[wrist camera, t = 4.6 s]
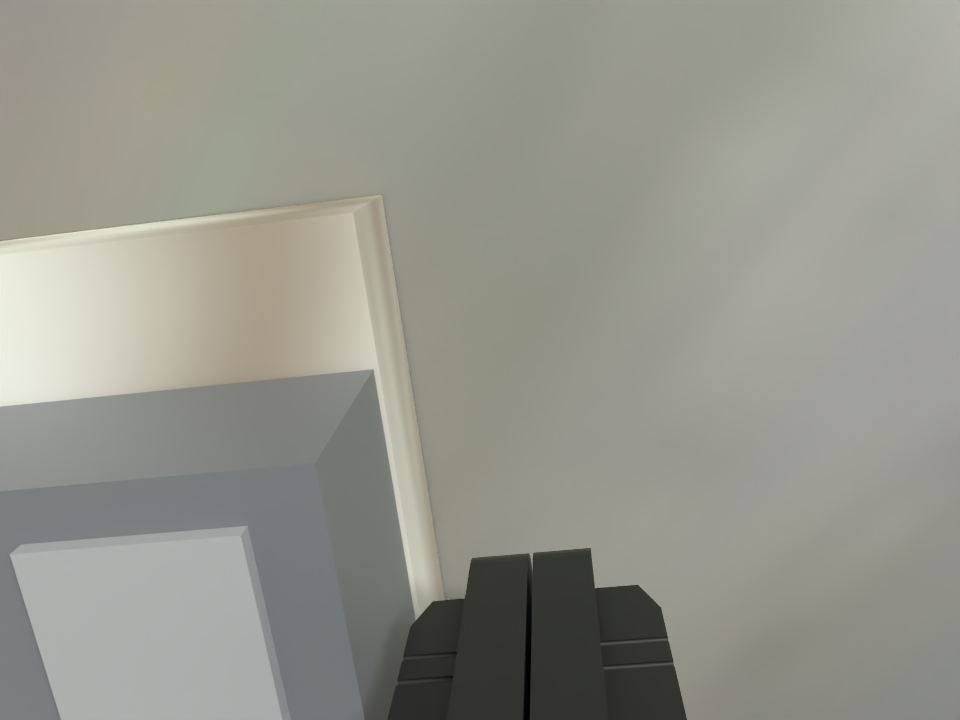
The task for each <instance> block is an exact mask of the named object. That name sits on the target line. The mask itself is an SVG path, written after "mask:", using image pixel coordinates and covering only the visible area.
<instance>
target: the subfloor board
mask: <svg viewBox="0 0 960 720" xmlns="http://www.w3.org/2000/svg"><path fill="white" fill-rule="evenodd" d="M371 369H374V375H375V381H376V387H377V393H378V399H379V404H380V410H381V416H382V422H383V428H384V434H385V440H386V446H387V452H388V458H389V464H390V470H391V476H392V482H393V488H394V494H395V500H396V506H397V512H398V518H399V524H400V530H401V536H402V541H403V547H404V553H405V559H406V565H407V571H408V577H409V583H410V589H411V595H412V601H413V607H414V613H415V619H416V620H417V619H418V618H419V616H420V615H421V614H422V613H423V612H424V611H425V610H426V608H427V607H428V606H429V605H430V604H431V603H432V602H433V601H442V600H445V596H444V590H443V584H442V577H441V571H440V564H439V558H438V551H437V545H436V539H435V532H434V526H433V519H432V513H431V507H430V500H429V494H428V487H427V481H426V474H425V468H424V462H423V455H422V449H421V442H420V436H419V430H418V423H417V417H416V410H415V404H414V397H413V391H412V385H411V378H410V372H409V365H408V359H407V353H406V346H405V340H404V333H403V327H402V320H401V314H400V308H399V301H398V295H397V288H396V282H395V276H394V269H393V263H392V256H391V250H390V243H389V237H388V231H387V224H386V218H385V211H384V205H383V199H382V195H376V196H368V197H359V198H351V199H343V200H335V201H326V202H318V203H310V204H302V205H294V206H285V207H277V208H269V209H261V210H252V211H244V212H236V213H228V214H219V215H211V216H203V217H195V218H187V219H178V220H170V221H162V222H154V223H145V224H137V225H129V226H121V227H113V228H104V229H96V230H88V231H80V232H71V233H63V234H55V235H47V236H39V237H30V238H22V239H14V240H6V241H0V407H2V406H12V405H22V404H32V403H42V402H52V401H62V400H72V399H82V398H92V397H102V396H112V395H122V394H132V393H142V392H152V391H162V390H171V389H181V388H191V387H201V386H211V385H221V384H231V383H241V382H251V381H261V380H271V379H281V378H291V377H301V376H311V375H321V374H331V373H341V372H351V371H361V370H371Z"/></svg>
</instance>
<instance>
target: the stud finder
mask: <svg viewBox="0 0 960 720" xmlns="http://www.w3.org/2000/svg"><path fill="white" fill-rule="evenodd" d="M415 621H416V619H415V613H414V607H413V601H412V595H411V589H410V583H409V577H408V571H407V565H406V559H405V553H404V547H403V541H402V536H401V530H400V524H399V518H398V512H397V506H396V500H395V494H394V488H393V482H392V476H391V470H390V464H389V458H388V452H387V446H386V440H385V434H384V428H383V422H382V416H381V410H380V404H379V399H378V393H377V387H376V381H375V375H374V369H371V370H361V371H351V372H341V373H331V374H321V375H311V376H301V377H291V378H281V379H271V380H261V381H251V382H241V383H231V384H221V385H211V386H201V387H191V388H181V389H171V390H162V391H152V392H142V393H132V394H122V395H112V396H102V397H92V398H82V399H72V400H62V401H52V402H42V403H32V404H22V405H12V406H2V407H0V720H387V719H388V715H389V711H390V707H391V703H392V699H393V695H394V691H395V686H397V684H398V683H397V678H398V674H399V670H400V666H401V662H402V661H403V654H404V650H405V646H406V642H407V638H408V634H409V630H410V627H411V626H412V624H413V623H414V622H415Z"/></svg>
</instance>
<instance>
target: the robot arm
mask: <svg viewBox="0 0 960 720" xmlns="http://www.w3.org/2000/svg"><path fill="white" fill-rule="evenodd" d="M397 683H398V684H397V686H395V691H394V695H393V699H392V703H391V707H390V711H389V715H388V719H387V720H687V718H686V714H685V710H684V705H683V701H682V697H681V692H680V688H679V684H678V679H677V675H676V671H675V667H674V664H673V658H672V654H671V649H670V645H669V642H668V636H667V632H666V628H665V623H664V619H663V615H662V610H661V607H660V606H659V605H658V604H657V603H656V602H655V601H654V600H653V599H652V598H651V597H650V596H649V595H648V594H647V593H646V592H645V591H644V590H643V589H641V588H640V587H639V586H638V585H631V586H618V587H606V588H595V585H594V576H593V567H592V557H591V548H586V549H573V550H561V551H549V552H537V553H533V570H532V564H531V558H530V555H529V553H528V554H516V555H504V556H491V557H479V558H472V560H471V564H470V570H469V577H468V584H467V590H466V597H465V599H455V600H442V601H433V602H432V603H431V604H430V605H429V606H428V607H427V608H426V610H425V611H424V612H423V613H422V614H421V615H420V616H419V618H418V619H417V620H416V621H415V622H414V623H413V624H412V626H411V627H410V630H409V634H408V638H407V642H406V646H405V650H404V654H403V661H402V662H401V666H400V670H399V674H398V678H397Z"/></svg>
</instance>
